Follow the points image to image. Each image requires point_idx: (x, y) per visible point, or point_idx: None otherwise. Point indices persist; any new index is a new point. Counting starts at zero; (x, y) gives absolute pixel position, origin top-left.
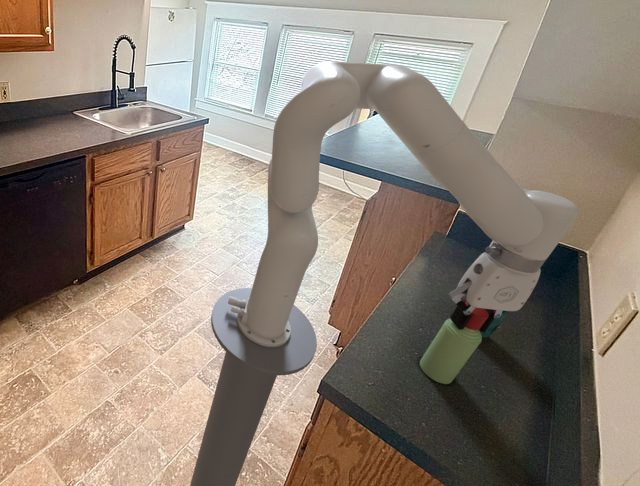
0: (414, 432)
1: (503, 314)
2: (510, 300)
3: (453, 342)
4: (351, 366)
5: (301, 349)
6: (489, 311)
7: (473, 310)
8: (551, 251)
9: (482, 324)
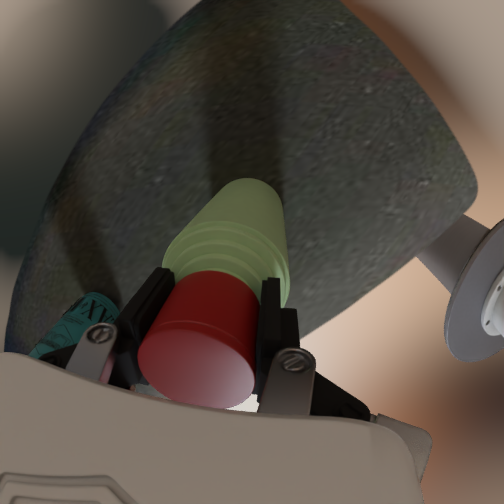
0: (396, 78)
1: (54, 331)
2: (18, 475)
3: (280, 238)
4: (437, 221)
5: (495, 254)
6: (128, 362)
7: (222, 375)
8: None
9: (181, 294)
